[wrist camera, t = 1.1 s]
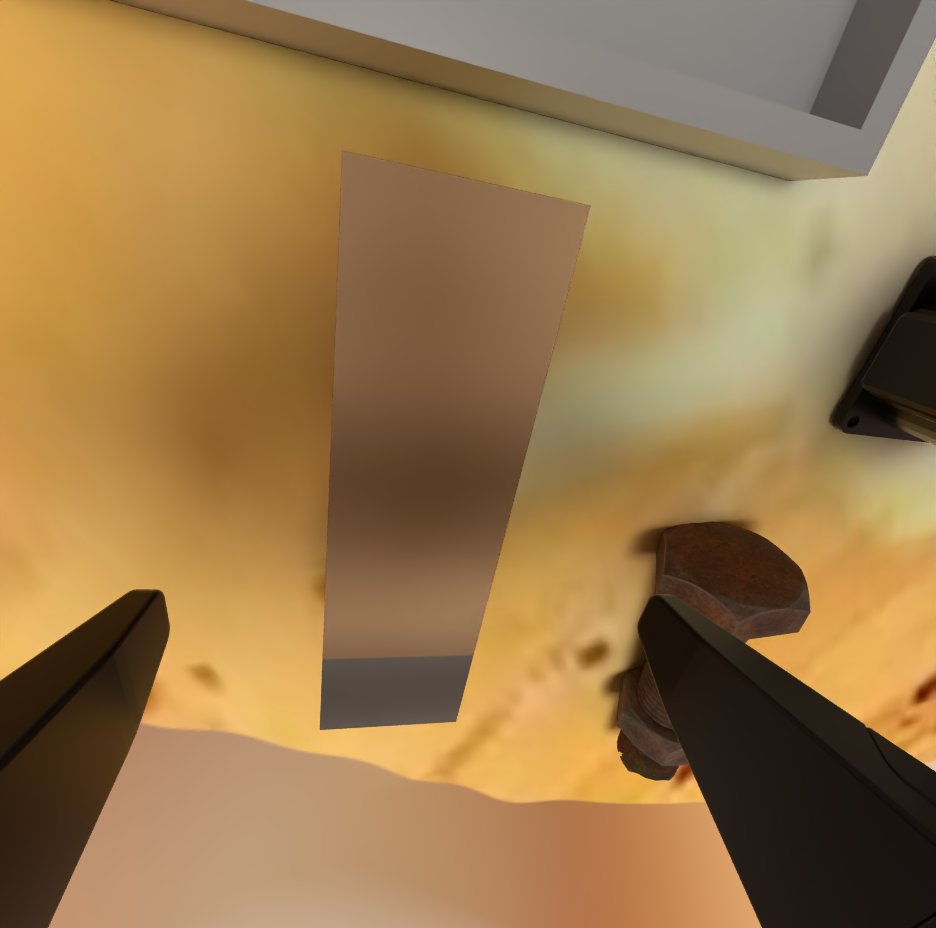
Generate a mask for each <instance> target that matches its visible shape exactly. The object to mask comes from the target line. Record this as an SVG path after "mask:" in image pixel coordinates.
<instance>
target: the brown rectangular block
mask: <svg viewBox="0 0 936 928" xmlns="http://www.w3.org/2000/svg"><path fill="white" fill-rule="evenodd" d="M589 210H590V205H585V204H581V203H576V202H572V201H567V200H563V199H558V198H554V197H549V196H545V195H540V194H536V193H531V192H527V191H522V190H518V189H513V188H509V187H504V186H500V185H495V184H491V183H486V182H482V181H477V180H473V179H468V178H464V177H459V176H455V175H450V174H446V173H441V172H437V171H432V170H428V169H423V168H419V167H414V166H410V165H405V164H401V163H396V162H392V161H387V160H383V159H378V158H374V157H369V156H365V155H360V154H356V153H351V152H347V151H342V171H341V197H340V223H339V249H338V274H337V300H336V326H335V352H334V377H333V403H332V429H331V455H330V480H329V506H328V532H327V558H326V583H325V609H324V635H323V661H322V686H321V712H320V730H327V729H344V728H361V727H377V726H394V725H410V724H427V723H443V722H456V720H457V716H458V712H459V708H460V704H461V701H462V697H463V693H464V689H465V685H466V681H467V678H468V674H469V670H470V666H471V662H472V658H473V655H474V651H475V647H476V643H477V639H478V635H479V632H480V628H481V624H482V620H483V616H484V612H485V609H486V605H487V601H488V597H489V593H490V589H491V586H492V582H493V578H494V574H495V570H496V567H497V563H498V559H499V555H500V551H501V547H502V544H503V540H504V536H505V532H506V528H507V524H508V521H509V517H510V513H511V509H512V505H513V501H514V498H515V494H516V490H517V486H518V482H519V478H520V475H521V471H522V467H523V463H524V459H525V455H526V452H527V448H528V444H529V440H530V436H531V432H532V429H533V425H534V421H535V417H536V413H537V409H538V406H539V402H540V398H541V394H542V390H543V386H544V383H545V379H546V375H547V371H548V367H549V363H550V360H551V356H552V352H553V348H554V344H555V341H556V337H557V333H558V329H559V325H560V321H561V318H562V314H563V310H564V306H565V302H566V298H567V295H568V291H569V287H570V283H571V279H572V275H573V272H574V268H575V264H576V260H577V256H578V252H579V249H580V245H581V241H582V237H583V233H584V229H585V226H586V222H587V218H588V214H589Z"/></svg>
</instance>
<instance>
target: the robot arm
mask: <svg viewBox="0 0 936 928" xmlns="http://www.w3.org/2000/svg"><path fill="white" fill-rule="evenodd" d="M833 426H834V428H836V429H838V430H840V431H842V432H844V433H848V434H857V435H866V436H875V437H884V438H893V439H902V440H911V441H920V442H929V443H932V444H934V445H936V256H935V257H933V258H931V259H930V260H929V261H928V262H926V263H925V265H924V266H923V267H922V269H921V271H920V272H919V274H918V276H917V277H916V279H915V281H914V282H913V284H912V286H911V288H910V289H909V291H908V293H907V294H906V296H905V298H904V299H903V301H902V303H901V305H900V306H899V308H898V310H897V311H896V313H895V315H894V316H893V318H892V320H891V322H890V323H889V325H888V327H887V328H886V330H885V332H884V333H883V335H882V337H881V339H880V340H879V342H878V344H877V345H876V347H875V349H874V351H873V352H872V354H871V356H870V357H869V359H868V361H867V362H866V364H865V366H864V368H863V369H862V371H861V373H860V374H859V376H858V378H857V379H856V381H855V383H854V385H853V386H852V388H851V390H850V391H849V393H848V395H847V396H846V398H845V400H844V402H843V403H842V405H841V407H840V408H839V410H838V412H837V413H836V415H835V417H834V419H833ZM169 632H170V624H169V619H168V613H167V607H166V602H165V597H164V594H163V592H162V591H160V590H149V589H136V590H132V591H130V592H128V593H126V594H125V595H123V596H122V597H120V598H119V599H118V600H116V601H115V602H113V603H112V604H110V605H109V606H107V607H106V608H105V609H103V610H102V611H100V612H99V613H97V614H96V615H94V616H93V617H92V618H90V619H89V620H87V621H86V622H84V623H83V624H81V625H80V626H79V627H77V628H76V629H74V630H73V631H71V632H70V633H68V634H67V635H65V636H64V637H63V638H61V639H60V640H58V641H57V642H55V643H54V644H52V645H51V646H50V647H48V648H47V649H45V650H44V651H42V652H41V653H39V654H38V655H37V656H35V657H34V658H32V659H31V660H29V661H28V662H26V663H25V664H24V665H22V666H21V667H19V668H18V669H16V670H15V671H13V672H12V673H11V674H9V675H8V676H6V677H5V678H3V679H2V680H0V928H48V927H49V925H50V923H51V920H52V918H53V916H54V914H55V912H56V909H57V907H58V905H59V903H60V901H61V899H62V896H63V894H64V892H65V890H66V888H67V885H68V883H69V881H70V879H71V876H72V874H73V872H74V870H75V868H76V866H77V863H78V861H79V859H80V857H81V855H82V853H83V850H84V848H85V846H86V844H87V842H88V839H89V837H90V835H91V833H92V831H93V829H94V826H95V824H96V822H97V820H98V817H99V815H100V813H101V811H102V809H103V807H104V805H105V802H106V800H107V798H108V796H109V793H110V791H111V789H112V787H113V785H114V783H115V781H116V778H117V776H118V774H119V772H120V770H121V767H122V765H123V763H124V761H125V758H126V756H127V754H128V752H129V750H130V747H131V745H132V743H133V740H134V738H135V735H136V733H137V730H138V727H139V725H140V722H141V719H142V716H143V713H144V710H145V707H146V704H147V701H148V698H149V695H150V692H151V689H152V686H153V683H154V680H155V677H156V674H157V671H158V668H159V665H160V662H161V659H162V656H163V653H164V650H165V647H166V644H167V641H168V637H169ZM638 634H639V637H640V640H641V643H642V646H643V649H644V652H645V655H646V658H647V661H648V663H649V666H650V669H651V672H652V675H653V678H654V681H655V684H656V687H657V690H658V693H659V696H660V698H661V701H662V704H663V706H664V709H665V711H666V713H667V716H668V718H669V721H670V723H671V725H672V727H673V730H674V732H675V734H676V736H677V738H678V741H679V743H680V745H681V747H682V750H683V752H684V754H685V756H686V759H687V761H688V763H689V765H690V768H691V770H692V772H693V774H694V777H695V779H696V781H697V783H698V786H699V788H700V790H701V792H702V794H703V797H704V799H705V801H706V803H707V806H708V808H709V810H710V812H711V815H712V817H713V819H714V821H715V823H716V826H717V828H718V830H719V833H720V835H721V837H722V839H723V842H724V844H725V846H726V848H727V850H728V853H729V855H730V857H731V859H732V862H733V864H734V866H735V868H736V870H737V873H738V875H739V877H740V880H741V882H742V884H743V886H744V888H745V891H746V893H747V895H748V898H749V900H750V902H751V904H752V906H753V909H754V911H755V913H756V915H757V918H758V920H759V922H760V924H761V927H762V928H936V772H935V771H934V770H932V769H931V768H929V767H928V766H926V765H925V764H923V763H922V762H920V761H919V760H917V759H916V758H914V757H913V756H911V755H910V754H908V753H907V752H905V751H904V750H902V749H901V748H899V747H898V746H896V745H894V744H893V743H892V742H890V741H889V740H887V739H886V738H884V737H883V736H881V735H880V734H878V733H877V732H875V731H874V730H872V729H871V728H868V727H867V728H866V726H865V725H864V724H863V723H862V722H860V721H859V720H858V719H856V718H855V717H853V716H852V715H850V714H849V713H847V712H846V711H844V710H843V709H841V708H840V707H838V706H837V705H835V704H834V703H832V702H831V701H829V700H828V699H826V698H825V697H824V696H822V695H821V694H819V693H818V692H816V691H815V690H813V689H812V688H810V687H809V686H807V685H806V684H804V683H803V682H801V681H800V680H798V679H797V678H795V677H794V676H792V675H791V674H790V673H788V672H787V671H785V670H784V669H782V668H781V667H779V666H778V665H776V664H775V663H773V662H772V661H770V660H769V659H767V658H766V657H764V656H763V655H761V654H760V653H758V652H757V651H756V650H754V649H753V648H751V647H750V646H748V645H747V644H745V643H744V642H742V641H741V640H739V639H738V638H736V637H735V636H733V635H732V634H730V633H729V632H727V631H726V630H725V629H723V628H722V627H720V626H719V625H717V624H716V623H714V622H713V621H711V620H710V619H708V618H707V617H705V616H704V615H702V614H701V613H699V612H698V611H696V610H695V609H693V608H692V607H691V606H689V605H688V604H686V603H685V602H683V601H682V600H680V599H679V598H677V597H676V596H674V595H671V594H654V595H652V596H651V597H650V598H649V600H648V602H647V604H646V607H645V609H644V611H643V613H642V615H641V617H640V619H639V621H638Z"/></svg>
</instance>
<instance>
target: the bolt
mask: <svg viewBox="0 0 936 928" xmlns="http://www.w3.org/2000/svg"><path fill="white" fill-rule="evenodd" d="M656 594H671V595H674V596H676V597H677V598H679V599H680V600H682V601H683V602H685V603H686V604H688V605H689V606H691V607H692V608H693V609H695V610H696V611H698V612H699V613H701V614H702V615H704V616H705V617H707V618H708V619H710V620H711V621H713V622H714V623H716V624H717V625H719V626H720V627H722V628H723V629H725V630H726V631H727V632H729V633H730V634H732V635H733V636H735V637H736V638H738V639H739V640H741V641H742V642H744V643H746V642H747V641H748V640H749V639H755V638H762V637H769V636H776V635H783V634H790V633H797V632H799V630H800V629H801V627H802V625H803V624H804V622H805V620H806V619H807V617H808V615H809V614H810V600H809V592H808V587H807V582H806V580H805V577H804V575H803V572H802V570H801V569H800V567H799V566H798V565H797V564H796V563H795V562H794V561H793V560H792V559H791V558H789V557H788V556H787V555H786V554H785V553H784V552H783V551H782V550H780V549H779V548H778V547H777V546H775V545H774V544H773V543H772V542H770V541H769V540H768V539H766V538H764V537H762V536H760V535H758V534H756V533H754V532H751V531H749V530H745V529H741V528H738V527H734V526H731V525H727V524H722V523H716V522H705V523H690V524H683V525H679V526H676V527H673V528H671V529H668V530H666V531H663V533H662V536H661V539H660V542H659V546H658V549H657V552H656ZM618 726H619V727H620V728H621V731H620V733H619V736H618V740H617V748H618V752H619V751H620V752H621V753H623V754H622V756H620V758H621V760H622V762H623V764H624V765H625V767H626V768H627V770H628V771H630V772H634V773H638V774H640V775H641V776H643V777H645V778H648V779H652V780H656V781H657V780H668V781H669V780H670V779H671V778H672V777H673V776H674V775H675V773H676V771H677V769H678V767H679V765H686V764H689V763H688V761H687V759H686V756H685V754H684V752H683V750H682V747H681V745H680V743H679V741H678V738H677V736H676V734H675V732H674V730H673V727H672V725H671V723H670V721H669V718H668V716H667V713H666V711H665V709H664V706H663V704H662V701H661V698H660V696H659V693H658V690H657V687H656V684H655V681H654V678H653V675H652V672H651V669H650V666H649V663H648V661H647V662H646V664H645V666H644V667H639V668H636V669H633V670H631V671H628V672H626V673H625V676H624V679H623V682H622V685H621V688H620V695H619V705H618Z"/></svg>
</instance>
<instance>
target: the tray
mask: <svg viewBox="0 0 936 928" xmlns="http://www.w3.org/2000/svg"><path fill="white" fill-rule="evenodd" d="M111 1H115V2H119V3H122V4H126V5H130V6H134V7H137V8H141V9H145V10H149V11H152V12H156V13H160V14H164V15H168V16H171V17H175V18H179V19H183V20H186V21H190V22H194V23H198V24H201V25H205V26H209V27H213V28H217V29H220V30H224V31H228V32H232V33H235V34H239V35H243V36H247V37H250V38H254V39H258V40H262V41H266V42H269V43H273V44H277V45H281V46H284V47H288V48H292V49H296V50H299V51H303V52H307V53H311V54H315V55H318V56H322V57H326V58H330V59H333V60H337V61H341V62H345V63H348V64H352V65H356V66H360V67H364V68H367V69H371V70H375V71H379V72H382V73H386V74H390V75H394V76H397V77H401V78H405V79H409V80H413V81H416V82H420V83H424V84H428V85H431V86H435V87H439V88H443V89H446V90H450V91H454V92H458V93H462V94H465V95H469V96H473V97H477V98H480V99H484V100H488V101H492V102H495V103H499V104H503V105H507V106H511V107H514V108H518V109H522V110H526V111H529V112H533V113H537V114H541V115H544V116H548V117H552V118H556V119H560V120H563V121H567V122H571V123H575V124H578V125H582V126H586V127H590V128H593V129H597V130H601V131H605V132H609V133H612V134H616V135H620V136H624V137H627V138H631V139H635V140H639V141H642V142H646V143H650V144H654V145H657V146H661V147H665V148H669V149H673V150H676V151H680V152H684V153H688V154H691V155H695V156H699V157H703V158H706V159H710V160H714V161H718V162H722V163H725V164H729V165H733V166H737V167H740V168H744V169H748V170H752V171H755V172H759V173H763V174H767V175H771V176H774V177H778V178H782V179H786V180H789V181H795V180H810V179H825V178H840V177H855V176H867V175H868V173H869V171H870V169H871V167H872V165H873V163H874V161H875V159H876V157H877V155H878V153H879V151H880V149H881V147H882V145H883V143H884V141H885V139H886V137H887V135H888V133H889V131H890V129H891V127H892V125H893V123H894V121H895V119H896V117H897V115H898V113H899V111H900V109H901V106H902V104H903V102H904V100H905V98H906V96H907V94H908V92H909V90H910V88H911V86H912V84H913V82H914V80H915V78H916V76H917V74H918V72H919V70H920V68H921V66H922V64H923V62H924V60H925V58H926V56H927V54H928V52H929V50H930V48H931V46H932V44H933V42H934V40H935V38H936V0H111Z"/></svg>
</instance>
